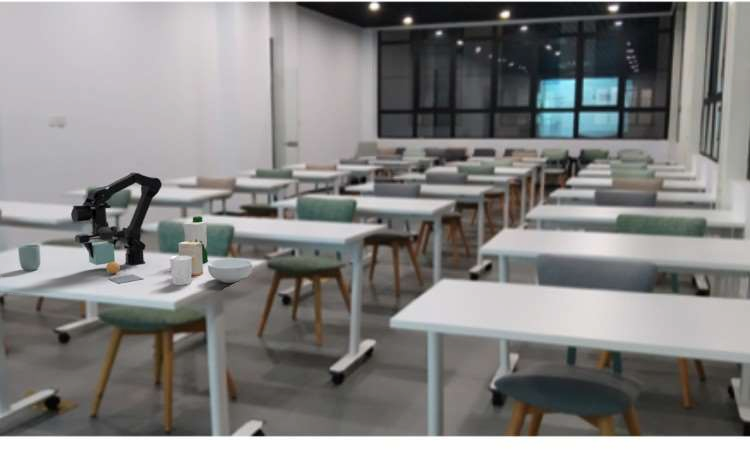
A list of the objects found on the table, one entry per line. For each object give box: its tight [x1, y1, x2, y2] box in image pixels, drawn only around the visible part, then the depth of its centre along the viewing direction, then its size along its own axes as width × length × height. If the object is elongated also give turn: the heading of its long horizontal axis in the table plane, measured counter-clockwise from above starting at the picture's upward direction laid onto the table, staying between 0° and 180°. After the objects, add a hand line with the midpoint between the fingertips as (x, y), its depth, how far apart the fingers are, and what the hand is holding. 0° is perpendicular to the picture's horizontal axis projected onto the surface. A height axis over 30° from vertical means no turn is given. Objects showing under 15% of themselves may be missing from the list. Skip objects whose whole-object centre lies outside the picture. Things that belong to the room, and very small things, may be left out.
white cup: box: [169, 255, 192, 286], centre depth 251 cm, size 8×8×10 cm
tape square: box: [107, 273, 144, 284], centre depth 258 cm, size 10×10×1 cm
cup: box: [17, 244, 42, 272], centre depth 273 cm, size 8×8×10 cm
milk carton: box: [181, 215, 209, 264], centre depth 286 cm, size 9×9×20 cm
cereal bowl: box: [207, 258, 253, 284], centre depth 256 cm, size 17×17×7 cm
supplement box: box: [178, 240, 204, 277], centre depth 266 cm, size 8×5×13 cm, turn 71°
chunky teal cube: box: [88, 241, 116, 266], centre depth 274 cm, size 8×8×8 cm
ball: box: [106, 261, 121, 275], centre depth 266 cm, size 5×5×5 cm
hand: (101, 256), depth 274 cm, fingers closed on chunky teal cube, 8 cm apart
